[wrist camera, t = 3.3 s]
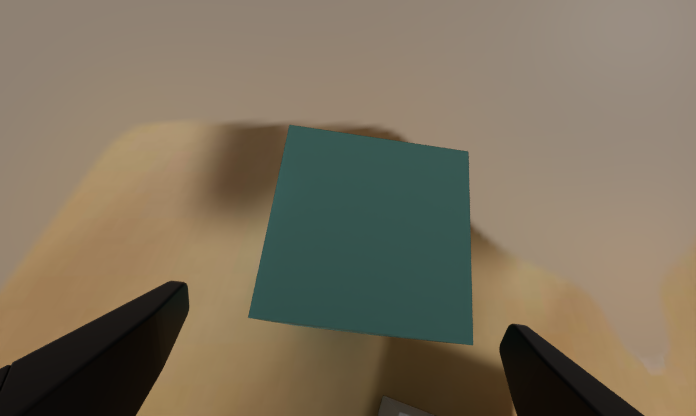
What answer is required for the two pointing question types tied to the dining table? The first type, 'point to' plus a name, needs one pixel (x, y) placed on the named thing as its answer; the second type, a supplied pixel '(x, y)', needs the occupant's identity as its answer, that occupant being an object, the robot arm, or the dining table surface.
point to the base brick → (398, 409)
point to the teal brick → (368, 239)
